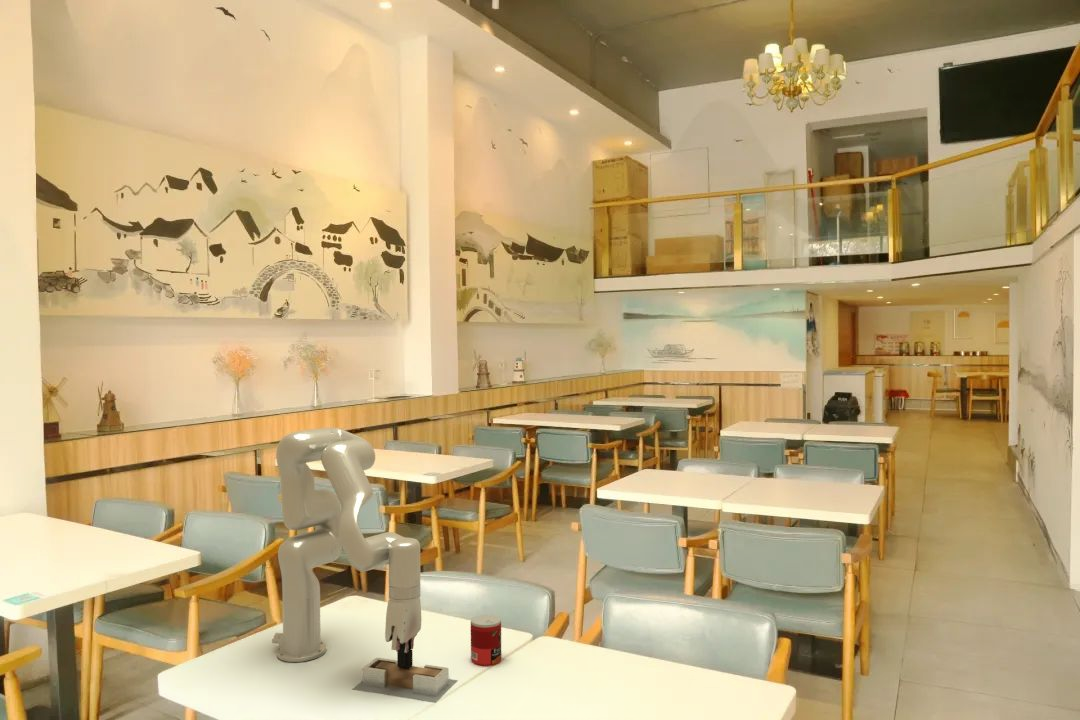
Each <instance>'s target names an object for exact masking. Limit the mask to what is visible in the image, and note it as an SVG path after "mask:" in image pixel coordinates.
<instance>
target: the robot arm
mask: <svg viewBox="0 0 1080 720" xmlns="http://www.w3.org/2000/svg"><path fill="white" fill-rule="evenodd" d="M275 458H276V464H277V468H278V472H279V476H280V491H281V492H280V494H281V511H282V514H281V515H282V521H283V525H284V526H285V527H286V529H288V530H291V531H300V530H305V529H310V528H315V529H314V530H312V531H307V532H303V533H299V534H296V535H293V536H290V537H288V538H286V539H285V540H284V541H283V542H281V544H280V545H279V547H278V551H277V558H278V564H279V565H278V566H279V568H280V574H281V584H282V585H281V586H282V587H281V589H282V593H281V594H282V633H281V632H276V633H274V636H273V638H272V644H279V648H278V649H277V650H276V657H277V659H279V660H281V661H282V662H288V663H302V662H306V661H307V662H308V661H311V660H315V659H317V658H319V657H321V656H323V655H324V654H325V653H326V652H327V643H326V642H324V641H322V640H321V586H320V585H321V584H320V582H319V579H318V578H317V576H316V574H315V573H314V570H313V569H315V568H317V567H320V566H323V565H326V564H329V563H332V562H334V561H336V560H337V559H338V558H339V557H340V556H341V554H342V551H343V552H344V554H345V556H346V558H347V560H348V563H350V565H351V567H353V568H354V569H355V570H357V571H359V572H368V571H371V570H374V569H378V568H381V567H383V566H388V601H387V607H386V613H385V614H386V616H385V632H384V635H385V636H384V638H385V639H384V640H385V642H386V643H390V642H391V651H396V652H397V655H396V656H397V657H396V659H397V666H398V667H399V668H405V669H409V668H410V667H411V666H413V649H414V645H415V644H414V641H415V638H416V636H417V635H418V633H419V632H420V631H421V629H422V605H421V604H422V603H421V544H420V541H419V540H418V539H416V538H413V537H405V536H403V535H400V534H398V533H395V532H392V531H389V532H388V531H387V532H382V533H378V534H375V535H372V536H369V537H364V535H363V532H362V530H361V528H360V525H359V513H360V510H361V509H362V506H364V505H365V504H366V503H368V501H369V500H370V499H371V498H372V497H373V495H374V490H373V487H372V485H371V483H370V481H369V479H368V477H367V474H366V473H365V471H367V470H369V469H371V468H372V467H373V466H374V464H375V461H376V451H375V450H374V446H372V444H371V443H370V442H369V441H368V440H366V439H365V438H363V437H360V436H359V435H356V434H354V433H351V432H349V431H347V430H344V429H343V428H339V427H323V428H322V427H321V428H312V429H303V430H298V431H294V432H291V433H288V434H287V435H284V436H283V437H282V438H281V439H280V441H279V443H278V445H277V447H276V453H275ZM320 461H321V465H322V467H323V468H324V471H325V473H326V475H327V477H328V480H329V481H330V484H331V486H332V488H333V490H334V492H333V491H332V490H330V489H328V488H319V489H315V477H314V473H313V472H312V470H311V468H310V466H309V465H308V464H307V463H312V462H320Z"/></svg>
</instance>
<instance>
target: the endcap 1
mask: <svg viewBox="0 0 1080 720" xmlns="http://www.w3.org/2000/svg"><path fill="white" fill-rule="evenodd" d="M381 662H388V663H395V664H397V660H396V659H390V658H382V657H375V658H374V659H373V660H372V661H370V662H369V663H368V664H367V665H365V666H364V667H362V669H361V670H362V671H361V673H362V675H361V676H362V681H361V682H362V685H366V686H372V687H379V688H386V687H387V670H383V669H377V668H375V666H377V665H378V664H379V663H381Z"/></svg>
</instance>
